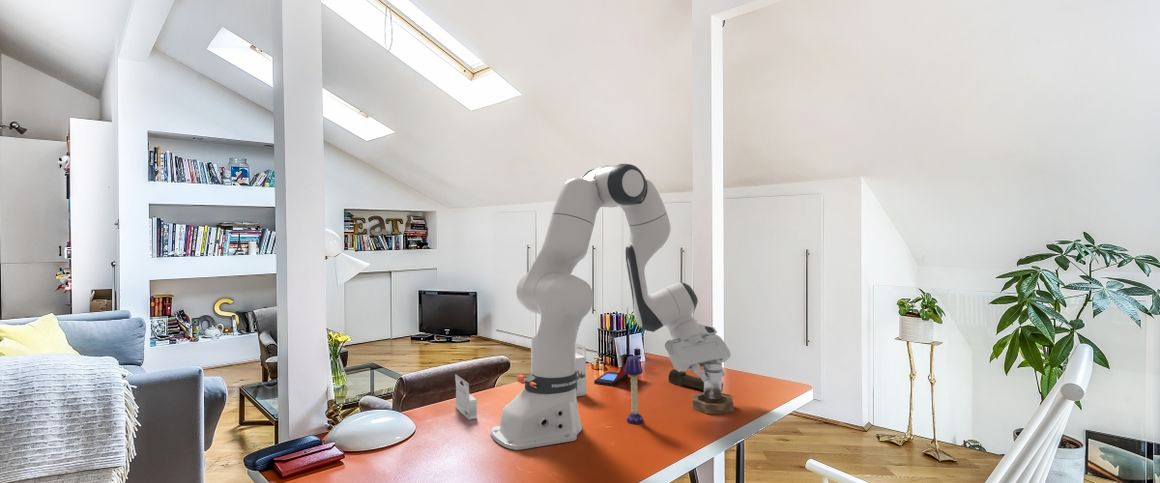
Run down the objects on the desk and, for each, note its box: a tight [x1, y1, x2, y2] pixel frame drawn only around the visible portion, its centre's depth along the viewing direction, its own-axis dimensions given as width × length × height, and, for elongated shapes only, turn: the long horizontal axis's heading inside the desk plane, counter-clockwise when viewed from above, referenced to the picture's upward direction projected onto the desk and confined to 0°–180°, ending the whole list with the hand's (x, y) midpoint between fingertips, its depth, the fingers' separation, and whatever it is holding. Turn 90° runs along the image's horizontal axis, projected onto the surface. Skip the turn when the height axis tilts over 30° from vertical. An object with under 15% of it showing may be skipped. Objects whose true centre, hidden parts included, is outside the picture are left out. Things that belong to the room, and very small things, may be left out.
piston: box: [703, 362, 723, 399], centre depth 145 cm, size 5×5×9 cm
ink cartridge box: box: [454, 373, 478, 421], centre depth 141 cm, size 2×11×10 cm, turn 32°
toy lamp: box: [625, 355, 644, 425], centre depth 135 cm, size 5×5×17 cm
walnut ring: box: [692, 391, 734, 415], centre depth 145 cm, size 11×11×2 cm
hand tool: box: [668, 368, 724, 391], centre depth 164 cm, size 19×4×5 cm, turn 42°
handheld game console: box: [593, 363, 629, 387], centre depth 172 cm, size 12×11×7 cm
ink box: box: [575, 342, 587, 398], centre depth 159 cm, size 8×5×15 cm, turn 26°
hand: (714, 378), depth 145 cm, fingers closed on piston, 5 cm apart
